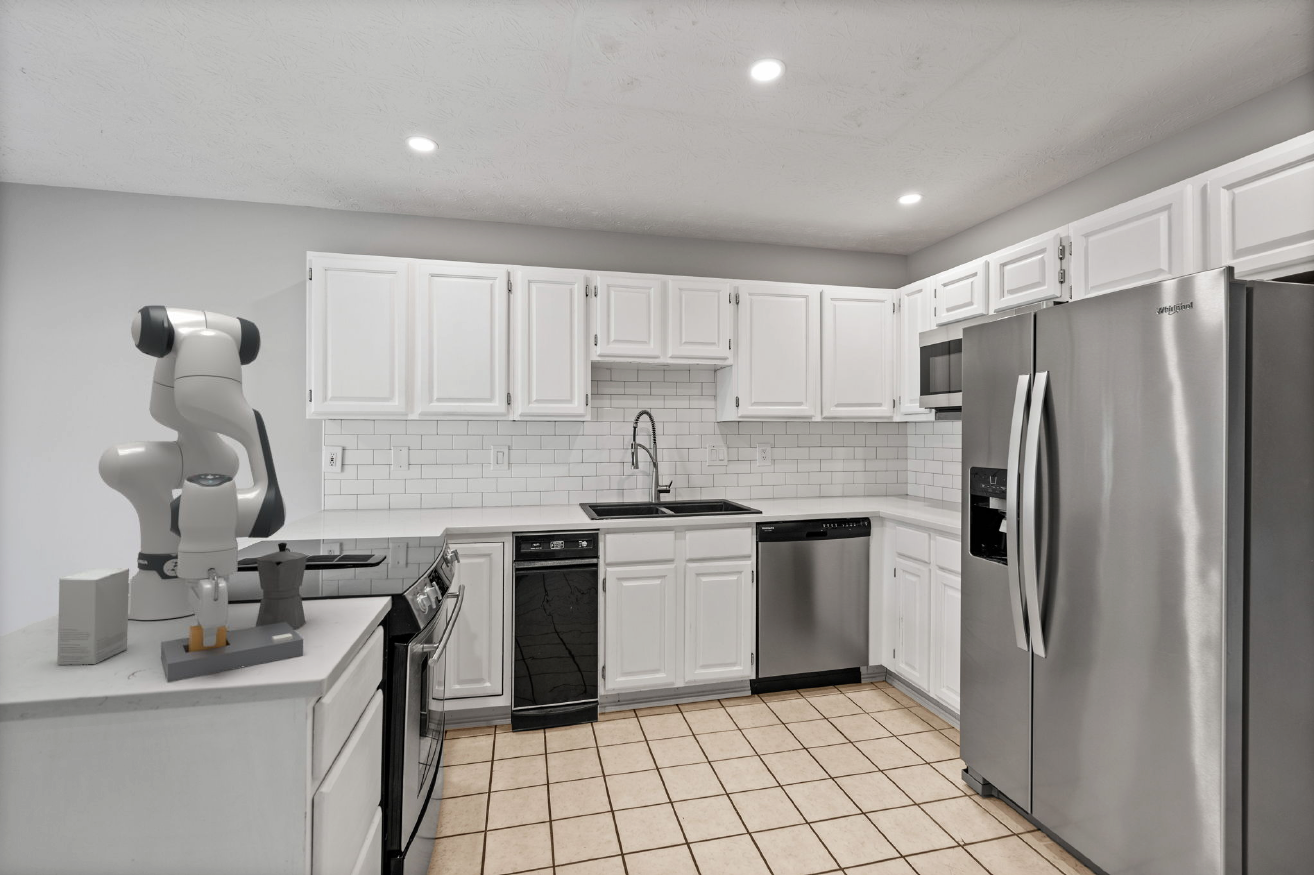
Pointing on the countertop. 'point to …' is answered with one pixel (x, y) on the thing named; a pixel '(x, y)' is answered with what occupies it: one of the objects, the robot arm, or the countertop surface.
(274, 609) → the coffeepot
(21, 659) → the countertop surface
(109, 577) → the skincare box
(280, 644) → the socket plate
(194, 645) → the plug
